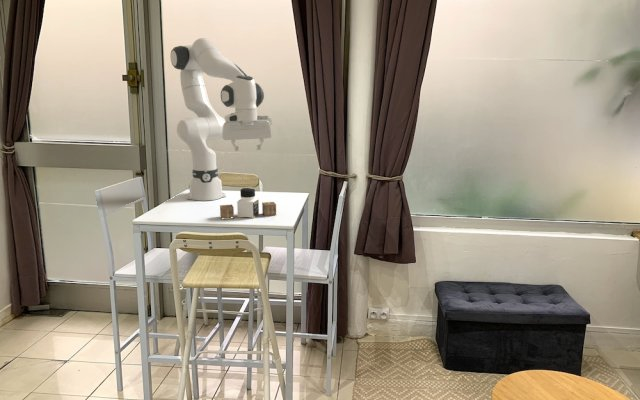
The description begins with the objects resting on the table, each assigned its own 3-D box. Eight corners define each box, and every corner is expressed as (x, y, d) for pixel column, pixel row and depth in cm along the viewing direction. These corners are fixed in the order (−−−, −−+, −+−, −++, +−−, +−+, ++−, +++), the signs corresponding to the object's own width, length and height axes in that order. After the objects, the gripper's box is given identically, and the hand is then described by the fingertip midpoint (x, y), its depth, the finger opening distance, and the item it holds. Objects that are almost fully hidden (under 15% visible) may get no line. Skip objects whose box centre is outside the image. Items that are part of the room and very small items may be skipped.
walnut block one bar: (220, 216, 228) (219, 205, 226) (232, 215, 229) (231, 204, 228) (221, 219, 223) (221, 207, 222) (234, 218, 224) (233, 207, 223)
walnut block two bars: (262, 213, 233) (262, 202, 231) (273, 212, 234) (273, 201, 233) (264, 216, 228) (264, 205, 227) (276, 215, 229) (276, 204, 228)
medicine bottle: (253, 218, 224) (253, 190, 222) (237, 217, 226) (236, 189, 223) (259, 214, 231) (258, 187, 228) (243, 213, 233) (242, 186, 230)
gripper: (269, 115, 225) (270, 148, 228) (220, 116, 219) (222, 150, 222) (273, 116, 219) (274, 149, 222) (222, 117, 213) (224, 152, 216)
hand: (247, 150), depth 222 cm, fingers open, 8 cm apart
